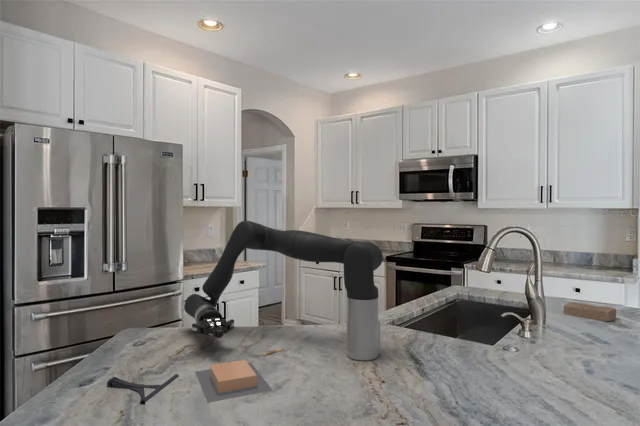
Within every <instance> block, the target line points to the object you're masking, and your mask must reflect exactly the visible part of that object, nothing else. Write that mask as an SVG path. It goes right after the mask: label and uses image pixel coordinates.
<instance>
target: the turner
mask: <svg viewBox="0 0 640 426" xmlns="http://www.w3.org/2000/svg"><path fill="white" fill-rule="evenodd" d="M283 351H284V348H282V347H279V348H275V349H273V350H269V351H265V352H262V353H261V356H263V357H267V356H270V355H274V354H277V353H279V352H283Z"/></svg>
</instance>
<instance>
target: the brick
mask: <svg viewBox="0 0 640 426" xmlns="http://www.w3.org/2000/svg"><path fill="white" fill-rule="evenodd" d="M562 308H563V309H562V314H564V315H566V316H572V317H579V318H583V319H589V320H593V321H599V322H612V321H614V320H615V319H616V317H617V308H615V307H610V306H604V305H601V306H600V305H594V304H588V303H582V302H575V301H569V302H567V303H565V304H563V307H562Z"/></svg>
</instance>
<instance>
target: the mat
mask: <svg viewBox="0 0 640 426" xmlns="http://www.w3.org/2000/svg"><path fill="white" fill-rule="evenodd" d="M247 363H248V362H247ZM248 364H249V366H250V367H251V368H252V370H253V371H254V372H255V374H256V375H257V388H253V389H247V390H242V391H236V392H231V393H225V394H220V395H219V394H218V392H217V390H216V388H215V386H214V384H213V382H212V380H211V378H210V368H209V369H205V370H204V369H203V370H198V371H196V370H195V375H196V377H197V380H198V383H199V385H200V387H201V390H202V392H203V394H204V398H205V399H206V402H207V403H212V402H214V403H215V402H218V401H223V400H229V399H234V398H239V397H244V396H249V395H254V394H255V395H256V394H260V393H261V394H262V393H266V392H271V391H273V389H272V388H271V386H270V385H269V384H268V382H267V381H266V379H264V377H263V376H262V375H261V373H259V371H258V369H256V367H255V365H254V364H253V363H252V362H249V363H248Z"/></svg>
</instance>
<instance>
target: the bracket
mask: <svg viewBox="0 0 640 426" xmlns="http://www.w3.org/2000/svg"><path fill="white" fill-rule="evenodd" d="M179 377H180V375H179V374H177V373H175V374H174V375H172V376H171V377H170V378H169V379H167V380H166V381H164V382H163V383H162V384H139V383H134V382H130V381H126V380H124V379H121V378H118V377H116V376H114V377H112V378H109V379H108V381H107V382H106V387H107V388H114V389H115V388H116V389H128V390H132V391H134V392H137V394H139V395H140V400H139V405H142V404H144V403H147V402H148V401H150V399H151V398H153V397H154V396H156V395H157V394H158V393H160V392H161V391H162V390H163V389H165V388H166V387H167V386H168V385H170V384H171V383H173V382H174V381H175V380H177V378H179ZM145 389H153V391H151V392H150V393H149V394H148V395H145Z"/></svg>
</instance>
